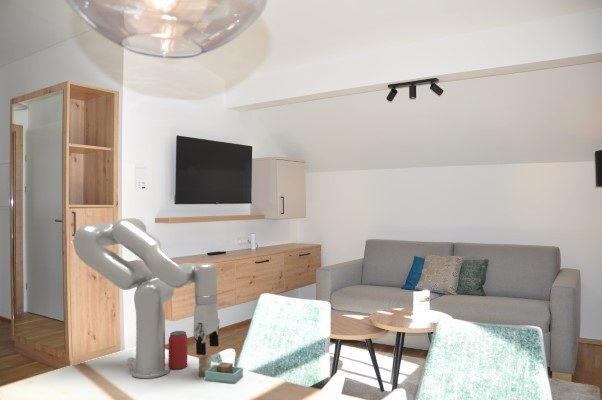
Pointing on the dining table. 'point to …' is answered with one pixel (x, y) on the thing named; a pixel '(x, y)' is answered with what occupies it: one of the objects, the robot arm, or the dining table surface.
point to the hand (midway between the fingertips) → (207, 350)
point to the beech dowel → (204, 364)
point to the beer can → (178, 350)
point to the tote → (223, 375)
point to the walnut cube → (225, 368)
